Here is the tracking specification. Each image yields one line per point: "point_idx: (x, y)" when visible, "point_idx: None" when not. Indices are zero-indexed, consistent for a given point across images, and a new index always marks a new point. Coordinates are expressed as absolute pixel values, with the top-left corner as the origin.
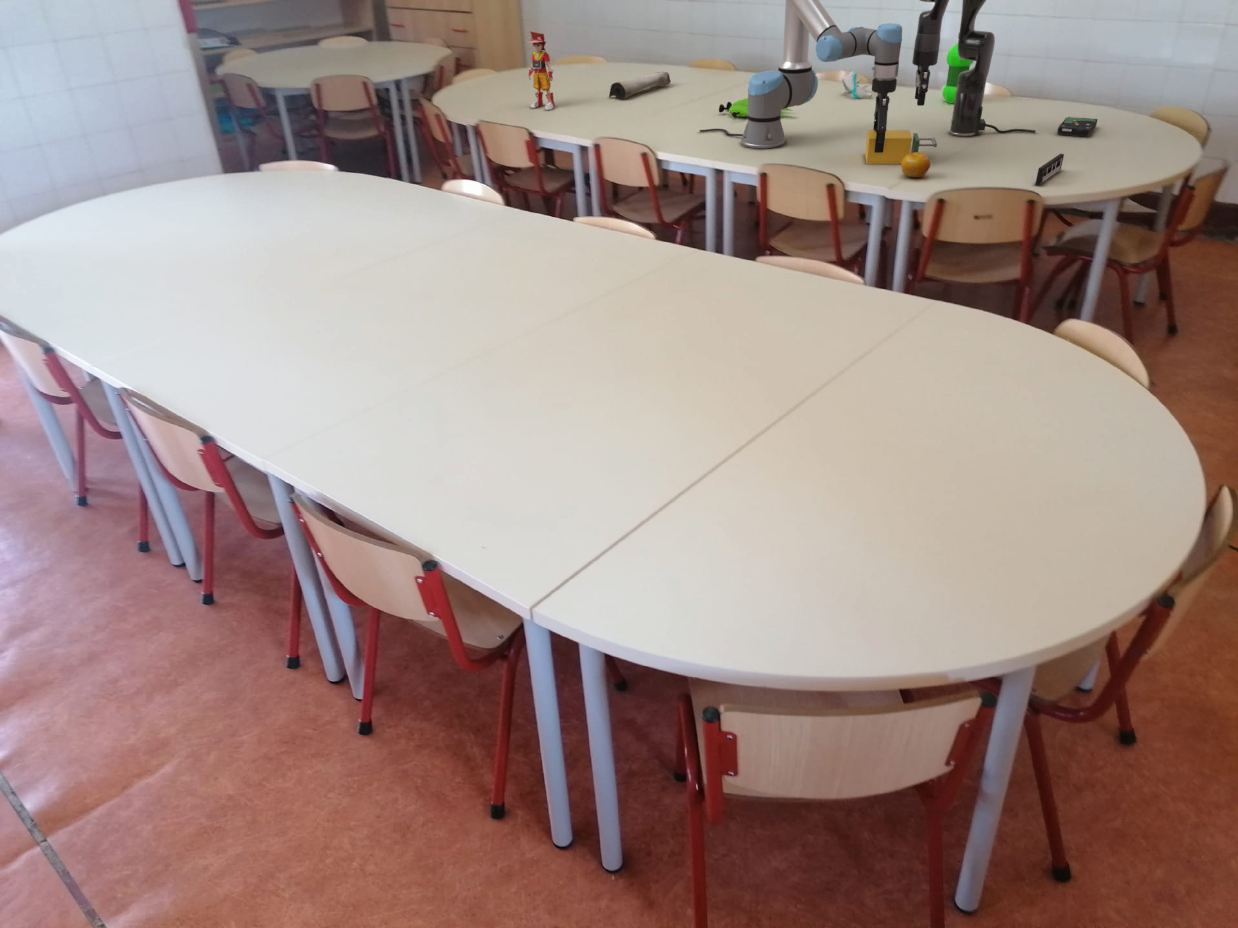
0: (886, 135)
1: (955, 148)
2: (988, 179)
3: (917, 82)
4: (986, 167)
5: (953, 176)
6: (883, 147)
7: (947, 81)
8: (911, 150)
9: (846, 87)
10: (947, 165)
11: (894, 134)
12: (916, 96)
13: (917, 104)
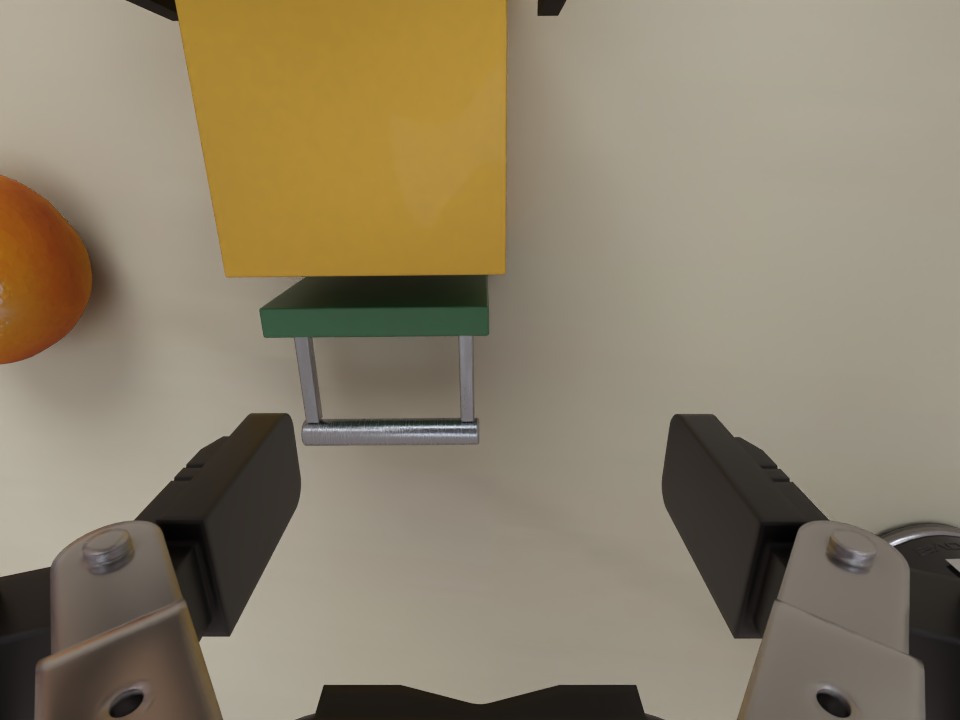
0: (286, 23)
1: (626, 518)
2: None
3: (140, 690)
4: (292, 605)
5: (107, 459)
6: (147, 6)
7: None
8: (470, 276)
9: None
10: (302, 451)
11: (334, 117)
12: (688, 446)
13: (252, 419)
